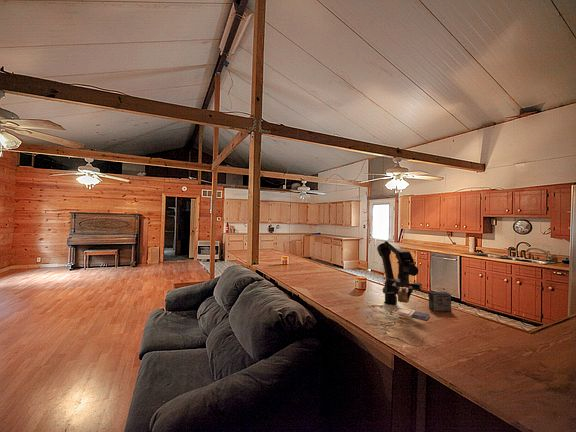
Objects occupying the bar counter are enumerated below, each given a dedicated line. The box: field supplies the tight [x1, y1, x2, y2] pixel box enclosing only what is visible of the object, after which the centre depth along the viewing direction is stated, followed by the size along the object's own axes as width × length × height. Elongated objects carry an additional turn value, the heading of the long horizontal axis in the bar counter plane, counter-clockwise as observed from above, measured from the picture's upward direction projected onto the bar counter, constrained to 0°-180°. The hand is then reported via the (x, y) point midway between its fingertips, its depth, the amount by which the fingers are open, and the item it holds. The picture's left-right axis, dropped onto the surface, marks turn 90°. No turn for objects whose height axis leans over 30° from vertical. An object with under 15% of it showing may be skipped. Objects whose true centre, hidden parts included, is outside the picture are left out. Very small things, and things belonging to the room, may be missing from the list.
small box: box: [428, 291, 452, 313], centre depth 156 cm, size 11×6×10 cm, turn 84°
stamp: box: [397, 287, 410, 304], centre depth 153 cm, size 5×5×8 cm
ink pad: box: [410, 310, 431, 321], centre depth 145 cm, size 8×8×1 cm
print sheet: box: [391, 306, 417, 317], centre depth 153 cm, size 10×12×1 cm
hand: (403, 298), depth 153 cm, fingers closed on stamp, 5 cm apart
